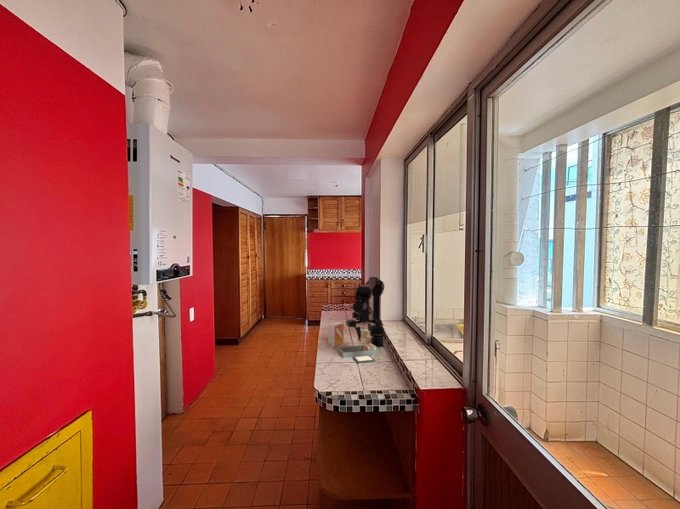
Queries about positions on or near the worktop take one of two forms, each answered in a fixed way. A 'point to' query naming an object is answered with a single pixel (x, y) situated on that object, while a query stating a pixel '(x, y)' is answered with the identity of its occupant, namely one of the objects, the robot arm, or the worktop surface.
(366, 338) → the walnut block
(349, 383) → the worktop surface
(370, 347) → the maple box
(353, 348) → the parts bin
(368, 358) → the pad
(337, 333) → the small box
